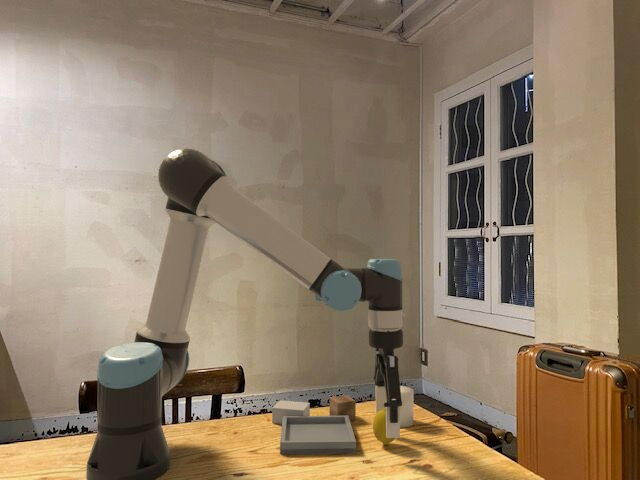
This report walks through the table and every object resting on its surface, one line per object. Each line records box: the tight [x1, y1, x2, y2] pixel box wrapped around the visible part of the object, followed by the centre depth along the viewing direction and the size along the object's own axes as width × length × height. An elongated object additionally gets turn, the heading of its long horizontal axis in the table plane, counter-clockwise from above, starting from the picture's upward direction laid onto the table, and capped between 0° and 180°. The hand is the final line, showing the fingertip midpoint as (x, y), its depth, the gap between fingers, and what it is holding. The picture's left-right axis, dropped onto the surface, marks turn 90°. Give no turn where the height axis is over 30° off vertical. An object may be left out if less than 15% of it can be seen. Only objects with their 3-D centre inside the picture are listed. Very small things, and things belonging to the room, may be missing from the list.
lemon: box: [372, 408, 396, 446], centre depth 105 cm, size 6×6×8 cm
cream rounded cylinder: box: [392, 385, 415, 428], centre depth 119 cm, size 7×7×8 cm
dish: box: [279, 415, 357, 455], centre depth 108 cm, size 16×16×2 cm
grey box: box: [271, 399, 311, 425], centre depth 120 cm, size 8×6×4 cm
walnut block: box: [328, 394, 357, 422], centre depth 122 cm, size 5×5×5 cm
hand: (387, 425), depth 105 cm, fingers open, 13 cm apart
